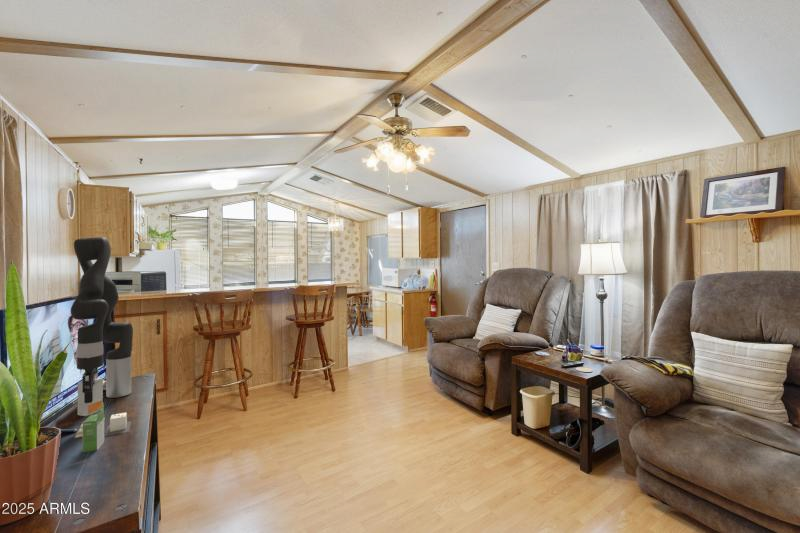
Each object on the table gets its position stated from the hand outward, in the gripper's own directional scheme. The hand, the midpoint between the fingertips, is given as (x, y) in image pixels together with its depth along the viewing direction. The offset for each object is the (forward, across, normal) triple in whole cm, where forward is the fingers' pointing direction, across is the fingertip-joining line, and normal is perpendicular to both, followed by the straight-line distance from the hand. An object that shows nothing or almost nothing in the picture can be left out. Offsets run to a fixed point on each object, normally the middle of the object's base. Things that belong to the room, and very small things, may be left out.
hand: (90, 399), depth 135 cm
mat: (+11, +6, +9) cm, 15 cm away
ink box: (+11, +18, +3) cm, 21 cm away
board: (+11, 0, 0) cm, 11 cm away
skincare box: (+5, 0, 0) cm, 5 cm away
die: (+11, +5, +9) cm, 15 cm away
